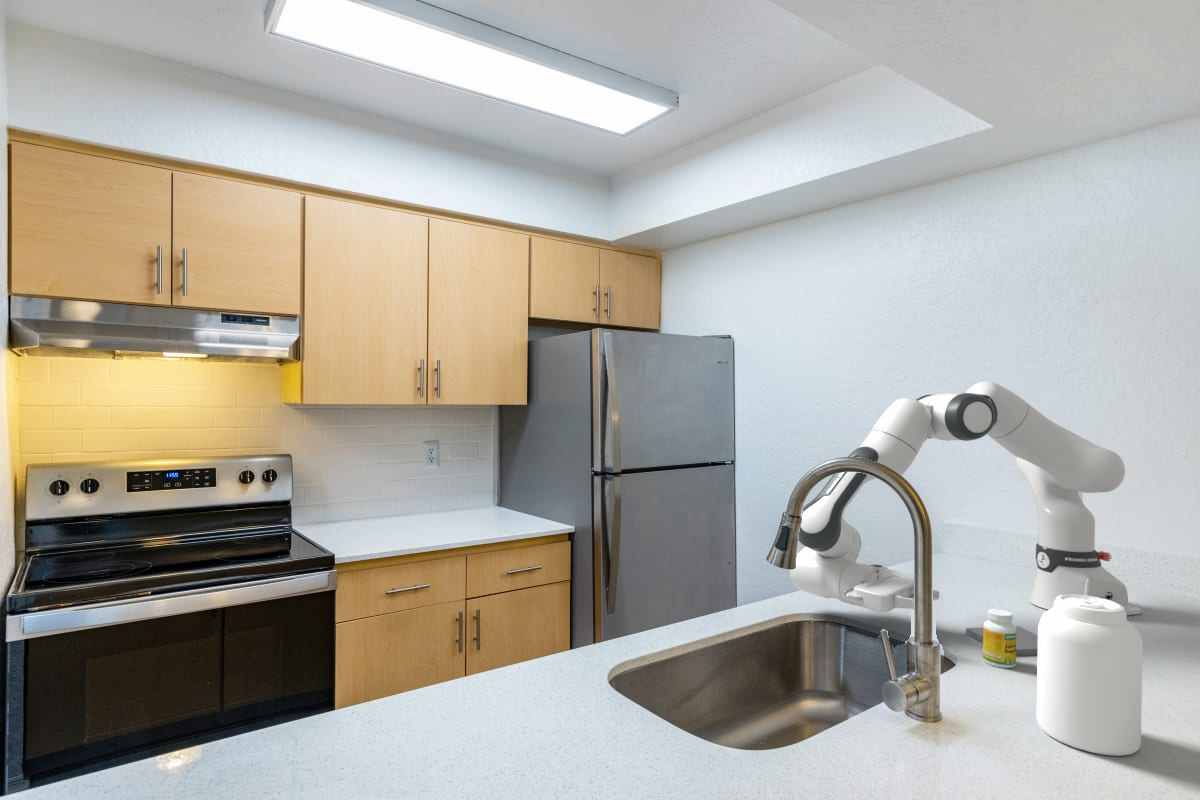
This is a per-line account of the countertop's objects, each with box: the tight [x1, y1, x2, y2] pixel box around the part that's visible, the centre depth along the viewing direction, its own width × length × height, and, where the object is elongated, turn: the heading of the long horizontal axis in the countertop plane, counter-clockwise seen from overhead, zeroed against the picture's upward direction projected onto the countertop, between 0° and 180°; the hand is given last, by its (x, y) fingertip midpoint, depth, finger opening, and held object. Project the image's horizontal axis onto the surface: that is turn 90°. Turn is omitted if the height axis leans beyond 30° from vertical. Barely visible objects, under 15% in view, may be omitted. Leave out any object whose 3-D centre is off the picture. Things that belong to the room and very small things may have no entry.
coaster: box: [965, 625, 1038, 657], centre depth 136 cm, size 12×12×1 cm
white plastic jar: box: [1035, 594, 1144, 757], centre depth 99 cm, size 12×12×20 cm
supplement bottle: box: [982, 608, 1017, 669], centre depth 126 cm, size 5×5×10 cm
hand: (929, 600), depth 134 cm, fingers open, 8 cm apart
